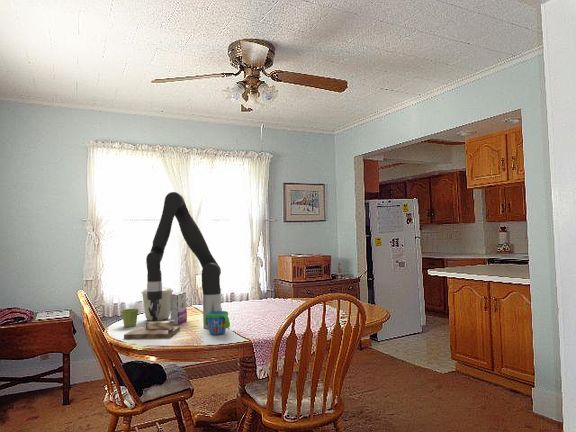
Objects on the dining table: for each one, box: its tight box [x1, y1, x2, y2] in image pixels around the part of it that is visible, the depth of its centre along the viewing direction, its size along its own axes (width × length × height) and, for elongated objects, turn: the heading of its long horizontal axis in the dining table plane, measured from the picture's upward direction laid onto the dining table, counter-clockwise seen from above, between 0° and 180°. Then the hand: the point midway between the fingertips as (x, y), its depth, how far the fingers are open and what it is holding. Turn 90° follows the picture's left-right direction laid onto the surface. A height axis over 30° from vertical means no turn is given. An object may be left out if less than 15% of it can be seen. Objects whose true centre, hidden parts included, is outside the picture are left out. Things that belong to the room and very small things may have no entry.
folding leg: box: [145, 319, 175, 329], centre depth 215 cm, size 14×3×4 cm, turn 88°
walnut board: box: [123, 326, 181, 340], centre depth 210 cm, size 22×16×4 cm
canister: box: [141, 286, 174, 322], centre depth 252 cm, size 18×18×21 cm
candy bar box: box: [170, 291, 188, 326], centre depth 239 cm, size 11×5×16 cm, turn 168°
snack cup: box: [205, 310, 231, 336], centre depth 208 cm, size 16×10×10 cm
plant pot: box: [120, 308, 140, 328], centre depth 234 cm, size 9×9×9 cm
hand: (155, 323), depth 221 cm, fingers closed
